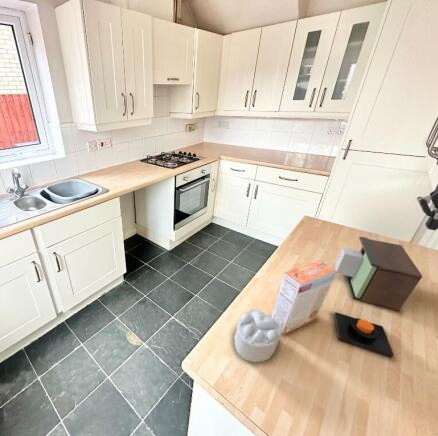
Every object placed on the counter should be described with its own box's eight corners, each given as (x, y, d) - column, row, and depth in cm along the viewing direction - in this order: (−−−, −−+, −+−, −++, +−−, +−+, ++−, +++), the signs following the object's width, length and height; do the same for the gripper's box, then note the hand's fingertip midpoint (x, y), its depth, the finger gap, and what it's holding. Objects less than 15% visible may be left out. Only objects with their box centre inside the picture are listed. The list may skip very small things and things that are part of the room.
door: (352, 276, 93) (367, 247, 87) (359, 298, 84) (377, 267, 77) (332, 271, 96) (345, 243, 89) (336, 292, 87) (351, 261, 80)
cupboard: (381, 279, 94) (401, 244, 86) (397, 313, 80) (423, 275, 72) (343, 269, 99) (359, 236, 91) (352, 300, 85) (372, 263, 77)
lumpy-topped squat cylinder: (280, 342, 72) (288, 322, 68) (260, 373, 64) (267, 353, 60) (247, 320, 79) (252, 301, 74) (225, 346, 71) (229, 326, 67)
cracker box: (299, 307, 83) (318, 258, 73) (315, 321, 78) (339, 271, 68) (267, 320, 78) (283, 270, 68) (282, 336, 73) (302, 285, 63)
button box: (379, 331, 74) (385, 322, 72) (390, 359, 67) (396, 350, 65) (332, 316, 79) (337, 307, 77) (337, 341, 72) (342, 332, 70)
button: (369, 326, 72) (372, 322, 71) (373, 335, 69) (375, 331, 68) (354, 321, 73) (357, 317, 73) (357, 330, 71) (359, 326, 70)
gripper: (438, 176, 67) (406, 229, 75) (510, 183, 61) (468, 240, 70) (426, 168, 72) (398, 219, 81) (491, 174, 67) (454, 227, 75)
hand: (430, 228), depth 75 cm, fingers closed
